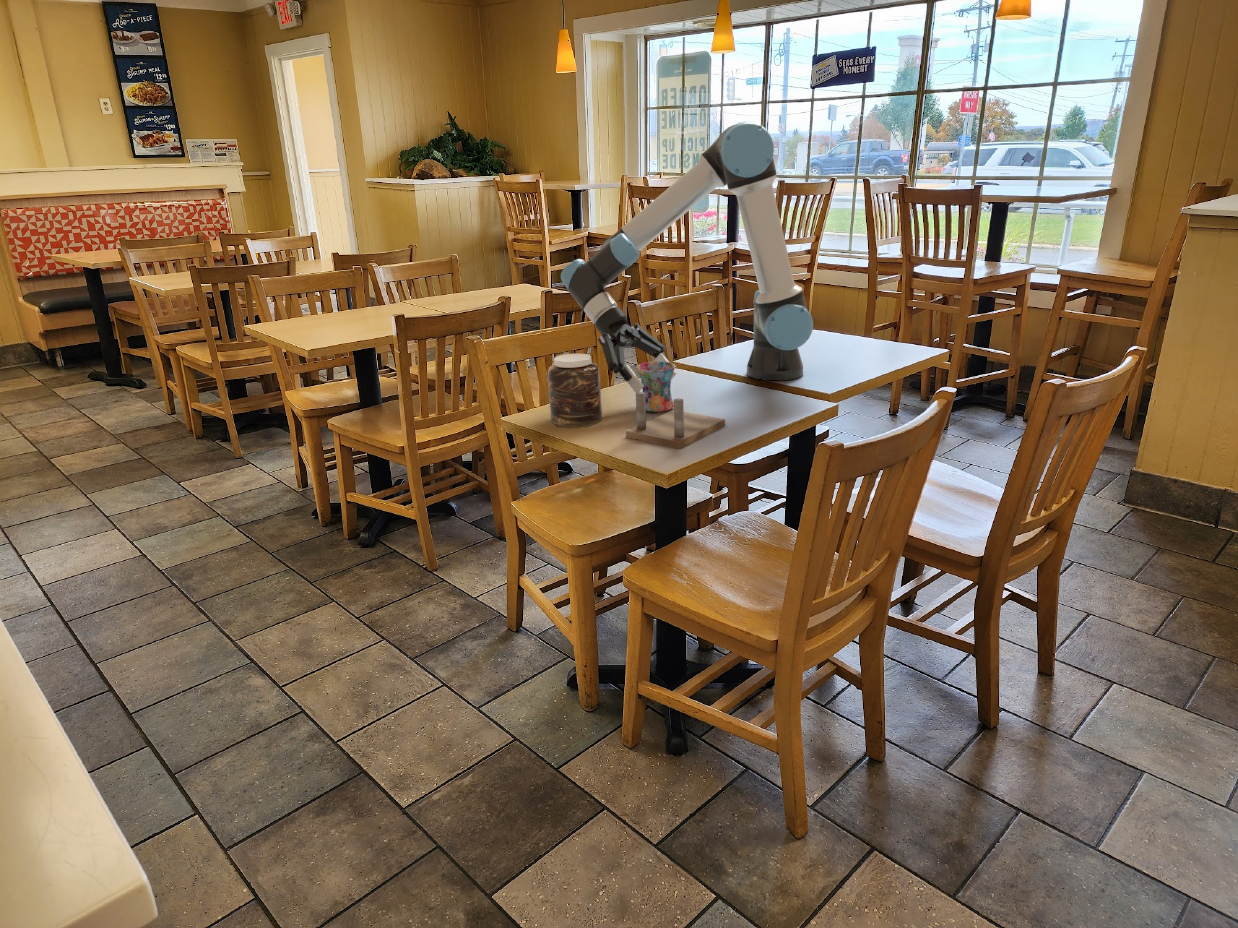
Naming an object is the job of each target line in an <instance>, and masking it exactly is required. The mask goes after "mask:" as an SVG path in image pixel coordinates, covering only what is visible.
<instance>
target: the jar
mask: <svg viewBox="0 0 1238 928" xmlns="http://www.w3.org/2000/svg"><path fill="white" fill-rule="evenodd" d="M591 356H592V355H590V354H587V353H565V354H559V355H557V356H555V357H554V358H553V360H554V361H553V364H552V365H550V366H549V367H548V369H547V383H548V384H547V385H548V399H549V401H548V402H549V409H550V410H549V411H550V422H551V423H552V424H553V425H555V426H559V427H563V428H578V427H586V426H591V425H595V424H598V423H599V422H601V421H602V420H603V410H602V409H603V408H602V392H601V378H600V370H599V369H600V368H599V365H598V364H597V363H595V362H593V361H592V357H591Z"/></svg>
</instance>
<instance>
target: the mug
mask: <svg viewBox="0 0 1238 928" xmlns="http://www.w3.org/2000/svg"><path fill="white" fill-rule="evenodd" d="M635 369H636V371H637V373H638V376H639V379H640V381H641V382H642V384H643V385H644V387H643V388H642V389H641V390H642V392H644V393H645V409H646V412H649V413H650V412H651V413H660V412H661V413H662V412H666V411H667V412H668V411H671V410H673V409H674V399H673V397H672V391H671V387H672V386H671V384H672V380H671V378H672V375H673V372H674V369H675V370H676V364H675V363H673V362H655V361H648V362H643V363H639V364H638V365H636V367H635Z"/></svg>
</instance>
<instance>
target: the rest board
mask: <svg viewBox="0 0 1238 928" xmlns="http://www.w3.org/2000/svg"><path fill="white" fill-rule="evenodd" d="M673 402H674V407H673V409H671V410H669V411H667V412H665V413H663V414H661V415H659V416H657V417H654V418H652V419H649V420H647V415H646V413H647V411H646V409H645V393H644V392H643V391H639V392H637V393H635V406H636V407H635V409H636V410H635V411H636V413H635V414H636V425H635V426H634V427H632V428H629V429H627V430H625V435H626V436H625V437H626V438H628V439H631V438H632V439H633V440H636V439H638V440H637V441H642V442H646V443H652V444H655V445H661V446H665V447H669V448H670V447H671V448H673V449H674V448H675V449H681V448H683V447H685V446H687V445H689V444H691V443H693V442H696V441H697V440H699V439H701V438H703V437H705V436H707V435H709V434H712V433H713V432H715V431H716V430H719V429H721V428H723V427H725V426H726V419H725V418H720V417H716V416H711V415H710V416H709V415H705V414H699V413H694V412H687V411H684V408H685V407H684V399H683V398H675V399H673Z"/></svg>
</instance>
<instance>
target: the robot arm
mask: <svg viewBox="0 0 1238 928" xmlns="http://www.w3.org/2000/svg"><path fill="white" fill-rule="evenodd" d="M774 148H775V146H774V141H773V138H772V135H771V134H770V132H769V131H768V129H766V128H765V127H764V126H763V125H761V123H758V122H755V121H749V120H745V121H740V122H738V123H735V124H732V125H730V126H729V127H727V128H726V129H725V130H723V131H722V133H721V134H719V136H718V137H717V138H716V140H715V141H713V143H712V144H711V145H710V146H709V147H708V148H707V149H706V150H705V151H703V153H701V154H700V155H699V161H698V162H697V163H696V164H694V166H693V167H691V168H690V169H689V170H688V171H686V173H684V174H683V175H682V176H681V177H680V178H679V179H677V180H676V181H675V182H674V183H673V184H671V185H670V186H669V187H668V188H666V189H665V190H664V191H663V192H662V193H660V194H659V195H658V196H657V197H656V198H655V199H653V200H652V201H651V202H650V203H649V204H647V206H646V207H644V208H643V209H642V210H641V211H640V212H639V213H637V214H636V215H635V216H634V217H632V218H631V219H630V220H629V221H628V222H627V223H626V224H625V225H623V226H622V227H621V228H620V229H619V230H617V231H616V232H615V233H614V234H612V235H611V236H610V237H608V238H606V239H605V240H604V241H603V242H602V244H601V245H600V249H599V251H598V252H596V254H594V256H592V257H591V258H590V259H588V261H584V259H582V258H577V259H574V260H573V261H571V262H569V263H568V264H567V265H566V266H564V268H563V269H562V271H561V273H560V279H561V281H562V283H563V285H564V286H565V288H566V289H567V292H568V293H569V294H570V295H571V297H572V298H573V299H574V301H576V303H577V304H578V306H579V307H580V308H581V309H582V311H583V312H584V313H585V314H586V316H587V317H588V319H589V320H590V321H591V322H592V324H593V325H594V326H595V328H596V330H597V332H599V334H600V336H599V337H598V338H597V341H598V343H599V344H600V345H601V348H602V352H603V354H604V358H605V362H606V365H607V369H608V370H609V372H613V373H614V374H615V375H618V374H620V376H621V377H622V378H623V380H624V381H625V382H626V383H628V385H629V386H630V388H631V389H632V391H633V392H634V393H635V394H636V393H637V392H641V391H642V390H643V389H642V388H643V387H644V385H643V384H642V382H641V379H640V377H638V376H637V374H636V373H635V372H634V370H633V369H632V368H631V366H630V365H629V364H625V348H628V347H631V348H636V349H639V350H640V351H642V352H644V353H645V354H648V355H650V356H651V357H654V362H670V359H668V357H667V356H666V355H665V353H664V352H665V351H666V350H667V346H666V345H664V344H663V343H662V342H661V341H659V340H658V339H657V338H655V337H654V336H652V334H650V333H649V332H647V330H645V329H643V328H642V326H641V325H640V324H639V323H637V322H635V323H634V324H633V326H630V325H629V324H628V321H627V320H628V317H627V315H626V313H625V312H624V311H623V310H622V309H621V307H620V306H618V303H617V302H616V301H615V299H614V298H613V297H612V296H611V294H610V293H609V292H608V290H606V287H607V286H608V285H610V283H611V282H613V281H614V280H615V279H617V277H618V276H620V275H621V274H622V273H624V271H626V270H627V269H628V268H629V267H631V266H632V265H633V264H634V263H635V262H636V261H637V260H638V259H639V258H640V255H641V254H640V252H641V250H643V249H644V248H645V247H647V246H648V245H649V244H650V243H651V242H653V241H654V240H655V239H657V238H658V237H659V236H660V235H661V234H663V232H665V231H666V230H667V229H668V228H669V227H671V226H672V225H673V224H675V222H677V221H678V220H679V219H680V218H682V217H683V216H684V215H686V214H687V213H688V212H689V211H691V209H692V208H694V207H695V206H696V205H697V204H699V203H700V202H701V201H702V200H704V198H706V197H707V196H708V195H709V194H711V192H713V191H715V189H717V188H725V187H726V186H727V190H728V191H729V192H731V193H732V194H734V195H735V196H736V200H737V203H738V208H739V212H740V216H741V219H742V220H741V221H742V224H743V228H744V232H745V237H746V241H747V245H748V248H749V253H750V257H751V262H752V265H753V269H754V273H755V277H756V278H755V279H756V281H757V286H758V289H757V290H756V291H755V293H754V296H753V297H754V298H753V301H752V302H753V347H752V350H751V353H750V355H749V359H748V360H747V361H748V362H747V365H746V376H748V377H749V376H750V377H749V378H751V377H753V378H752V379H754V378H755V379H754V380H759V379H765V380H764V381H768V380H782V381H790V380H796V379H798V378H801V377H803V375H804V363H803V361H802V357H801V354H800V350H799V348H801V347H802V346H804V344H806V342H807V341H808V340H809V339H810V338H811V335H812V334H813V328H814V319H813V316H812V315H811V312H810V311H809V309H808V308H807V307H808V306H807V304H806V303H807V302H806V298H805V294H804V290H803V287H802V286H799V285H798V284H796V283H795V279H794V276H793V271H792V266H791V261H790V258H789V254H788V248H787V243H786V240H785V235H784V231H783V227H782V223H781V219H780V214H779V213H780V212H779V209H778V205H777V201H776V195H775V192H774V191H775V190H774V188H773V187H774V186H773V184H774V182H775V180H776V178H777V176H778V174H777V168H776V165H775V161H774V152H775V149H774ZM670 363H671V362H670ZM676 375H678V371H676V368H675V369H674V372H673V375H672V378H671V381H672V380H673V379H674V378H675V377H676Z"/></svg>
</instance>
